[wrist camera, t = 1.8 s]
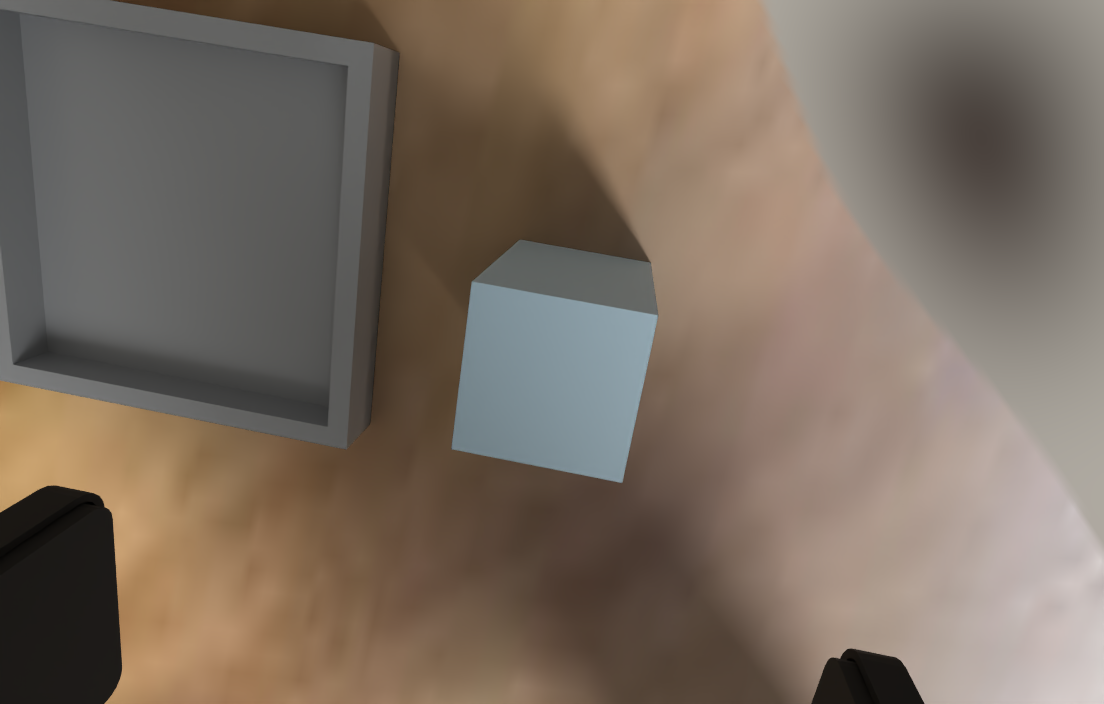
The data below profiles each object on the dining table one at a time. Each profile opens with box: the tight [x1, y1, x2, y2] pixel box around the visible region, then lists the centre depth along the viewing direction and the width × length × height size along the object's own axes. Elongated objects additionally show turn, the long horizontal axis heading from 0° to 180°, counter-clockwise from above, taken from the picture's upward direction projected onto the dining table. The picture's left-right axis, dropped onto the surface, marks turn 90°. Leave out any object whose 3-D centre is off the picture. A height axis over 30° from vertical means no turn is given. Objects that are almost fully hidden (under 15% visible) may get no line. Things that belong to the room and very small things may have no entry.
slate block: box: [451, 240, 658, 483], centre depth 22 cm, size 5×5×8 cm
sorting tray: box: [0, 0, 400, 449], centre depth 25 cm, size 15×15×2 cm
